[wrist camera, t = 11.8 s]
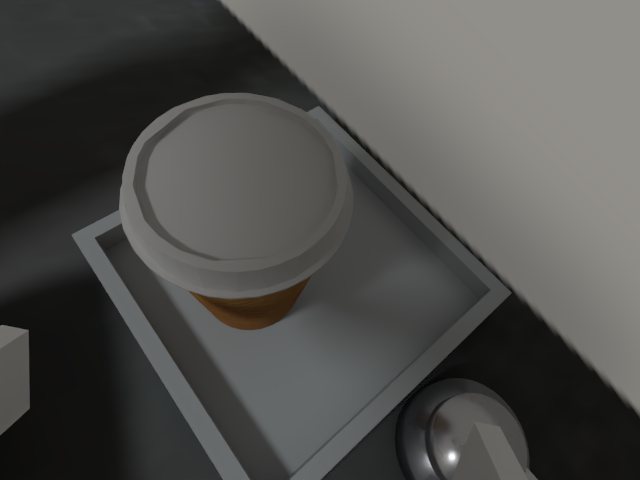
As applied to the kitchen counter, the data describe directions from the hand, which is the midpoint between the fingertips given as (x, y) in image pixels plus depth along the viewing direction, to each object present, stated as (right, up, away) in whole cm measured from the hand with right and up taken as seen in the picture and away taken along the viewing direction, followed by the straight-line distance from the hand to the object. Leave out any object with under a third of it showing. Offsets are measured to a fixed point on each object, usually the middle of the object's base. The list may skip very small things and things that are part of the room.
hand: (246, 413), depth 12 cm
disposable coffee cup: (-2, +2, +14) cm, 15 cm away
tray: (0, +2, +16) cm, 16 cm away
